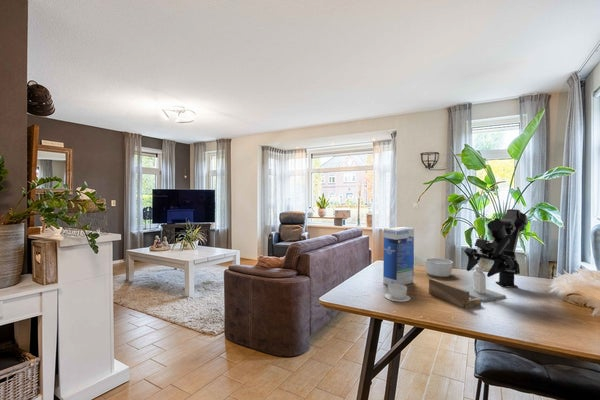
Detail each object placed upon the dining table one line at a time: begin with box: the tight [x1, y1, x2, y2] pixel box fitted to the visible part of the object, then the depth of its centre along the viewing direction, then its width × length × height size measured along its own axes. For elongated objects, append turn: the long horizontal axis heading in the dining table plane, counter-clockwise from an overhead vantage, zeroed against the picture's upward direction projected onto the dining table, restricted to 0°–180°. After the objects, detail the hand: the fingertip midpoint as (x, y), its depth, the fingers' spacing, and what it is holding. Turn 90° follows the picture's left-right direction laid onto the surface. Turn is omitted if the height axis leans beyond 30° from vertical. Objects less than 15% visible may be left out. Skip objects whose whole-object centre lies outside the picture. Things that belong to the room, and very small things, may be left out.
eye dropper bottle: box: [472, 262, 487, 294], centre depth 123 cm, size 4×6×12 cm
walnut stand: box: [428, 278, 482, 309], centre depth 118 cm, size 8×18×6 cm, turn 20°
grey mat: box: [459, 286, 507, 303], centre depth 123 cm, size 13×13×1 cm
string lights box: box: [382, 226, 415, 286], centre depth 138 cm, size 13×8×26 cm, turn 123°
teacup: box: [384, 284, 412, 303], centre depth 119 cm, size 10×10×5 cm
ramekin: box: [424, 257, 454, 278], centre depth 154 cm, size 13×13×7 cm
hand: (477, 273), depth 122 cm, fingers open, 9 cm apart
